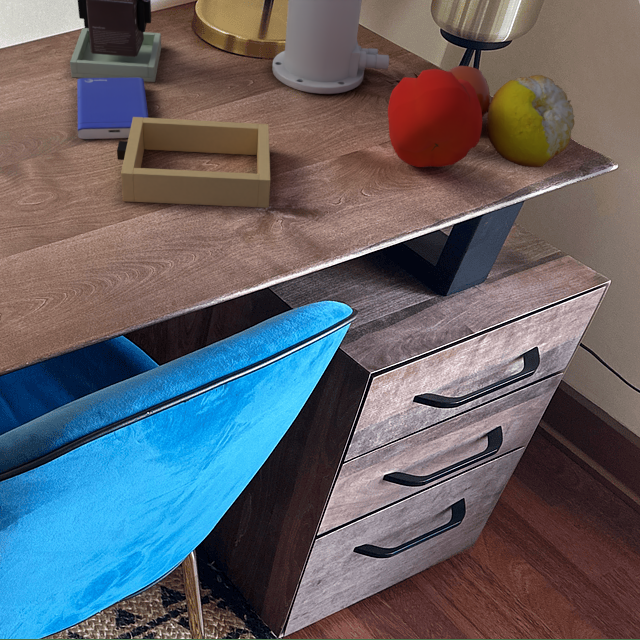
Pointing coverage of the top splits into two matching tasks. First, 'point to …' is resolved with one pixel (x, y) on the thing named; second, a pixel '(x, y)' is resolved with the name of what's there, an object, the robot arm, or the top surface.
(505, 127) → the fruit
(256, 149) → the tan rectangular bin
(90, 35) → the box
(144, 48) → the tray
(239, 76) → the top surface
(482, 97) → the tomato
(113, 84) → the hard drive
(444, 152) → the tomato
